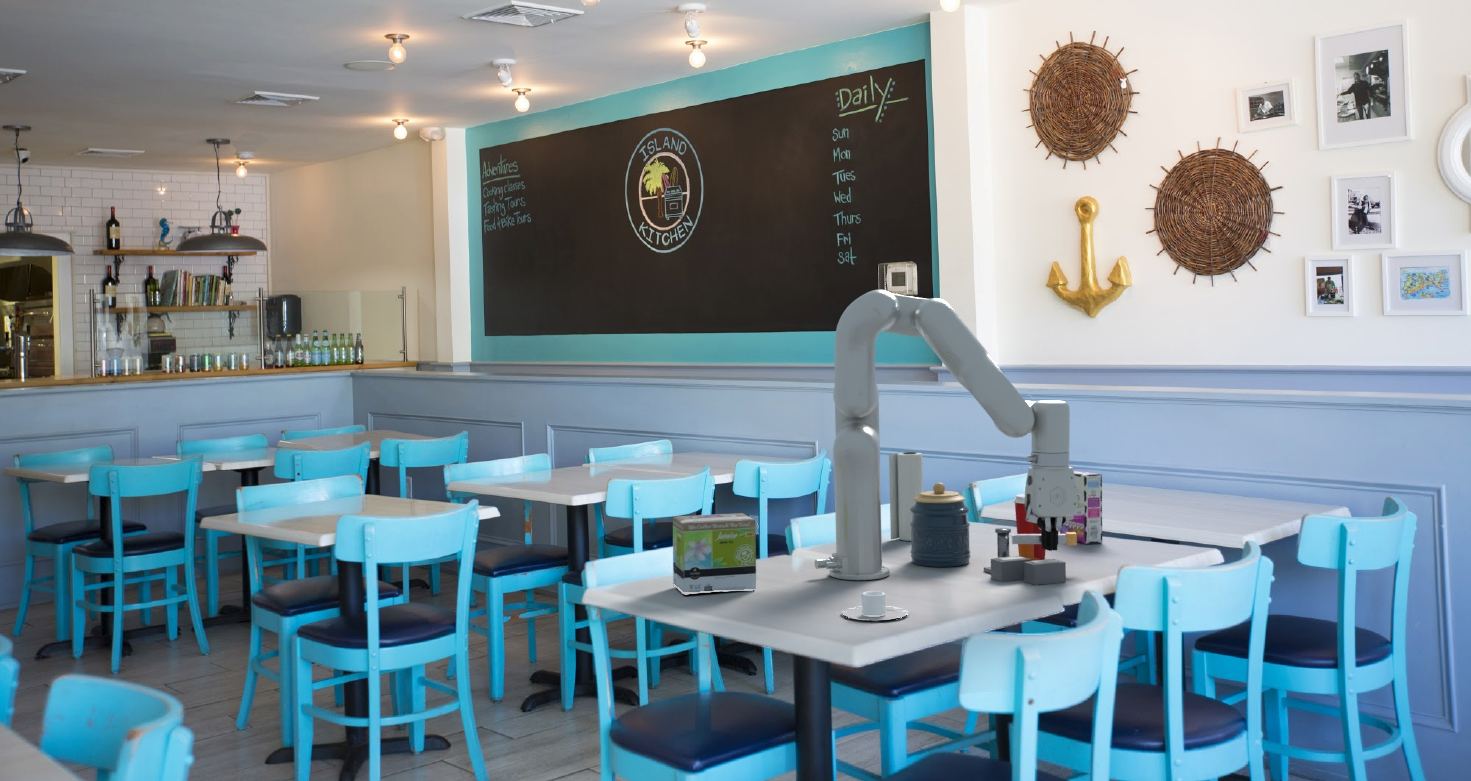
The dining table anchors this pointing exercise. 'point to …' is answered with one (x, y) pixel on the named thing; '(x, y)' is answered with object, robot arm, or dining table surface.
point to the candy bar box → (1087, 509)
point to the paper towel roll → (904, 491)
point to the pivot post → (1001, 544)
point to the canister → (939, 529)
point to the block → (1008, 568)
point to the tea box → (714, 552)
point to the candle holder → (874, 603)
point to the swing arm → (1066, 538)
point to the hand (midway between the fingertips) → (1049, 549)
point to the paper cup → (1027, 531)
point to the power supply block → (1045, 571)
